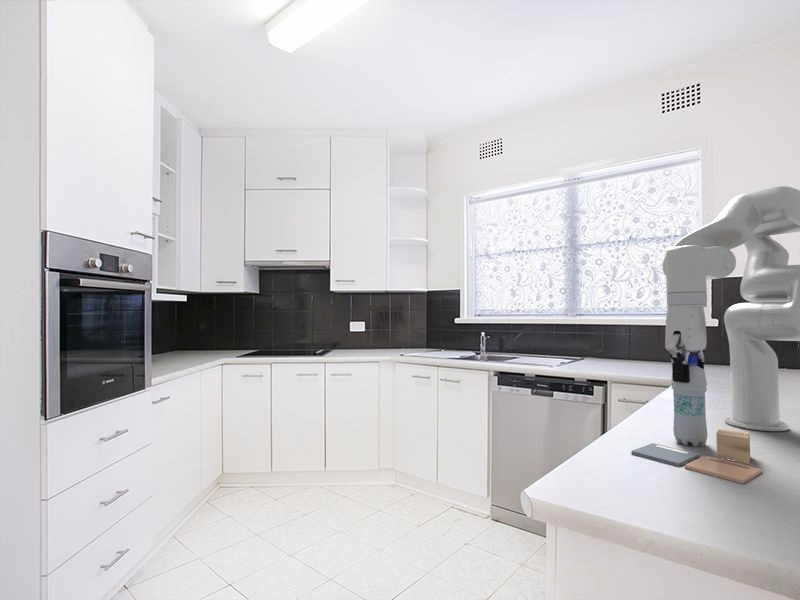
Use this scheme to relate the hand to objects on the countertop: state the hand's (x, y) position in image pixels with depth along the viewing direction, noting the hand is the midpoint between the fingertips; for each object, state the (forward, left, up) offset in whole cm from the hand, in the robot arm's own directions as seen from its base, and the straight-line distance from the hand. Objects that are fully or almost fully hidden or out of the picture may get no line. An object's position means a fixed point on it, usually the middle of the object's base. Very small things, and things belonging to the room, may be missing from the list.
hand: (688, 379), depth 96 cm
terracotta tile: (+13, +11, -14) cm, 22 cm away
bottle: (0, 0, -14) cm, 14 cm away
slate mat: (+13, +1, -14) cm, 19 cm away
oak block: (+3, +9, -14) cm, 17 cm away
